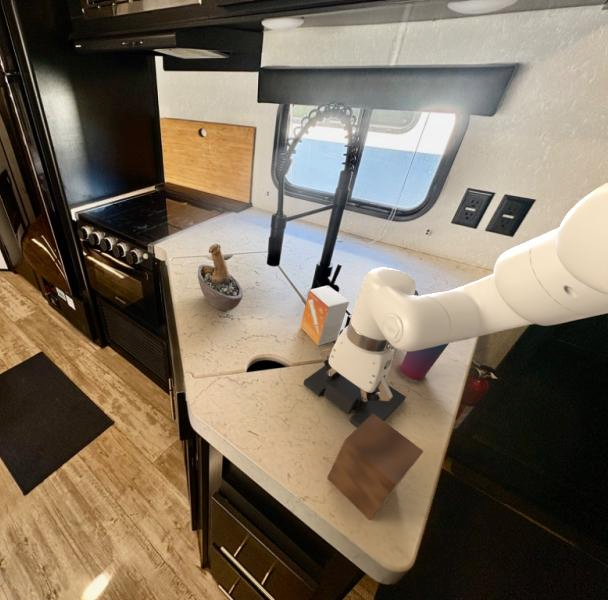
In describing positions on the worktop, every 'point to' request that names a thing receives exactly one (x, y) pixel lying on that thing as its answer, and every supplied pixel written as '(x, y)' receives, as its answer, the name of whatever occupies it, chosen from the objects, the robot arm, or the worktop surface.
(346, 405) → the black squat block
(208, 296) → the planter
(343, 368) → the robot arm
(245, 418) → the worktop surface
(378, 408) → the black u-shaped block
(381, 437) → the brown wooden block
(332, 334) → the small box
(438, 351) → the cup
